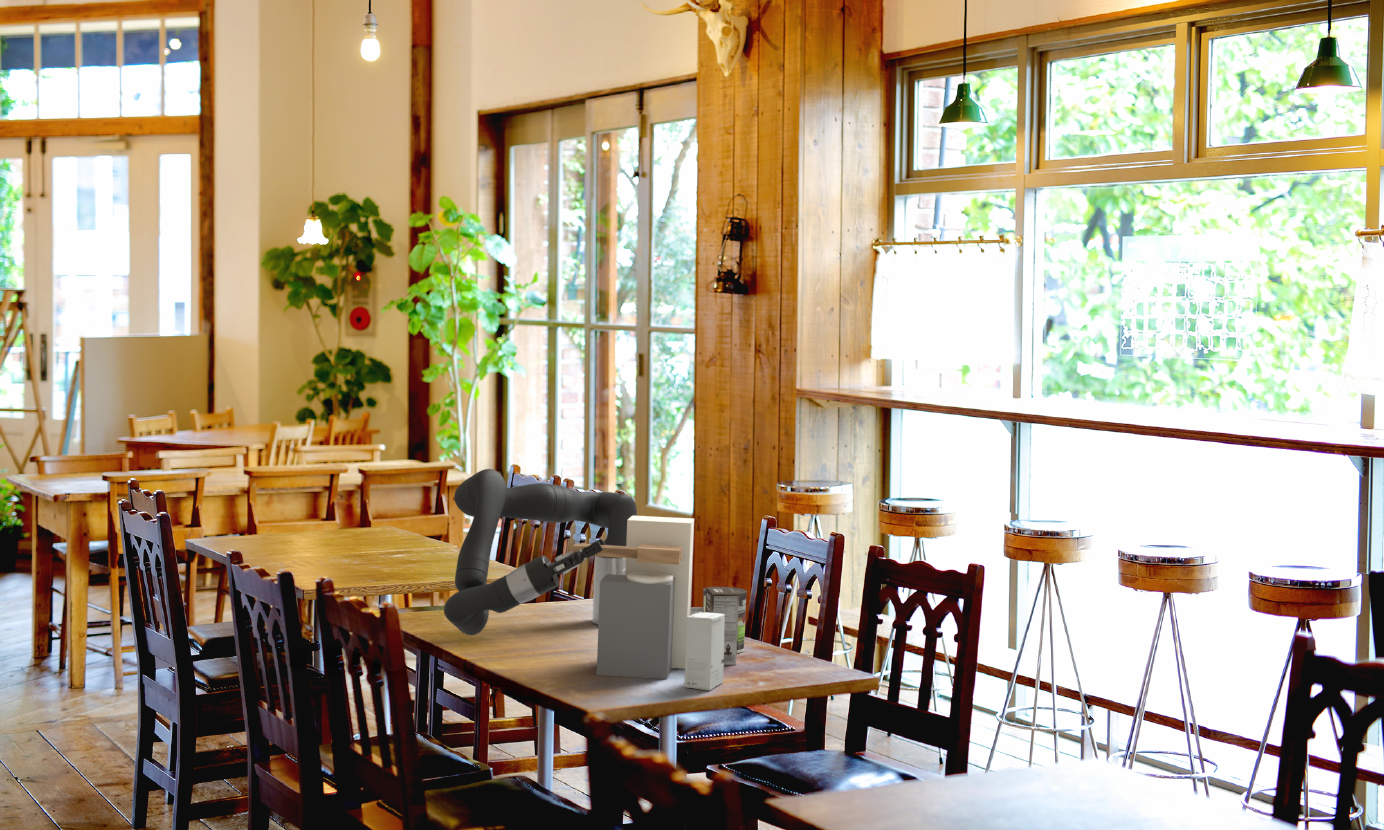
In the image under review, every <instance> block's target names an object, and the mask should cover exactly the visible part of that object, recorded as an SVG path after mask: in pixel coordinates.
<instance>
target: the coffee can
mask: <svg viewBox="0 0 1384 830" xmlns="http://www.w3.org/2000/svg"><path fill="white" fill-rule="evenodd" d="M733 588H734V590H735V591H736V592H737V593H738V594H739V611H738V632H737V654H741V653H743V652H744V651H745V636H746V635H745V633H746V632H745V631H746V612H747V611H746V609H747V594H748V591H747V590H746V589H744V588H739V587H733ZM702 593H703V599H702V605H703V606H702V607H703V612H705V603H706V587H705V588H703V590H702Z"/></svg>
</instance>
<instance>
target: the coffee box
mask: <svg viewBox="0 0 1384 830" xmlns="http://www.w3.org/2000/svg"><path fill="white" fill-rule="evenodd" d="M705 588H706V603H705V612H707V613H720V614H725V625H724V666H736V665H737V655H738V653H737V632H738V611H739V594H738V593H737V592H736V591H735V590H734V588H735V587H734V588H733V587H732V586H710V587H709V586H707V587H705Z"/></svg>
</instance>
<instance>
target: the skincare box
mask: <svg viewBox="0 0 1384 830" xmlns="http://www.w3.org/2000/svg"><path fill="white" fill-rule="evenodd" d="M724 625H725V614H720V613H707V612H700V613H696V614H693V615H691V616H688V617H687V620H686V655H685V669H684V687H685V688H688V689H689V688H691V689H696V690H701V691H707V692H709V691H711V690H713V689H714V688H716V687H717V686H719V685H722V684H724V667H725V665H724Z"/></svg>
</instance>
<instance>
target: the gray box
mask: <svg viewBox="0 0 1384 830" xmlns="http://www.w3.org/2000/svg"><path fill="white" fill-rule="evenodd" d="M674 589H675V577H673V575H671V574H667V573H661V572H631V573H628V574H627V575H617V574H606V575H605V576H604V578H603V579H602V580H601V581H600V597H599V623H598V624H597V626H598V627H597V629H598V630H597V654H596V655H597V659H596V676H608V677H610V676H611V677H622V678H623V677H627V678H642V679H660V680H661V679H662V680H667V679H668V677H669V676H670V673H671V670H672V668H671V665H672V640H673V615H674Z"/></svg>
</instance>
